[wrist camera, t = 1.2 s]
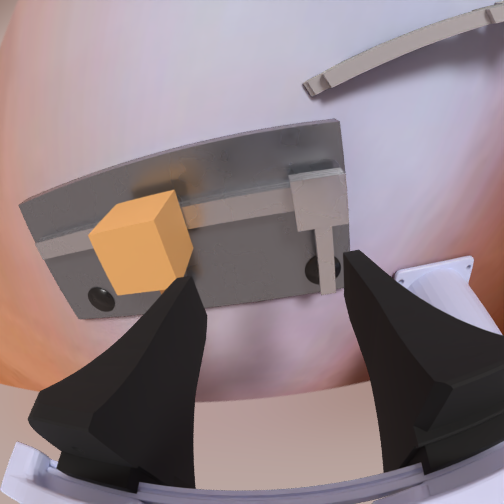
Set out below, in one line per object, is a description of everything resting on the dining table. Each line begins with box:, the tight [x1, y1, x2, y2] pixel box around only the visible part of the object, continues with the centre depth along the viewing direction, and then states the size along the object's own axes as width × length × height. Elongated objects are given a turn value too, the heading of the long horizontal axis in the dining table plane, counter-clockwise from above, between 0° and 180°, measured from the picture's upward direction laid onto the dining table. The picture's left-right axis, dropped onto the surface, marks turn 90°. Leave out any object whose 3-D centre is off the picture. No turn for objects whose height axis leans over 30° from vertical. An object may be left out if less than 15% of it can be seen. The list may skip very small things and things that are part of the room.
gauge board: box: [19, 119, 350, 319], centre depth 20 cm, size 12×24×3 cm, turn 101°
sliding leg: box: [88, 190, 193, 295], centre depth 18 cm, size 8×4×5 cm, turn 11°
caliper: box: [303, 1, 504, 97], centre depth 11 cm, size 20×1×6 cm, turn 124°
